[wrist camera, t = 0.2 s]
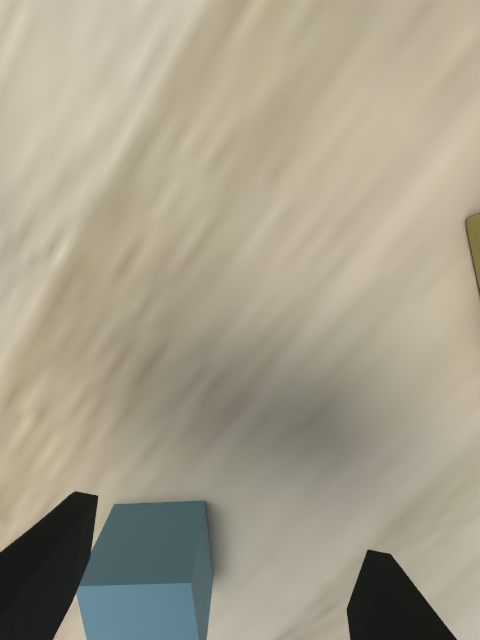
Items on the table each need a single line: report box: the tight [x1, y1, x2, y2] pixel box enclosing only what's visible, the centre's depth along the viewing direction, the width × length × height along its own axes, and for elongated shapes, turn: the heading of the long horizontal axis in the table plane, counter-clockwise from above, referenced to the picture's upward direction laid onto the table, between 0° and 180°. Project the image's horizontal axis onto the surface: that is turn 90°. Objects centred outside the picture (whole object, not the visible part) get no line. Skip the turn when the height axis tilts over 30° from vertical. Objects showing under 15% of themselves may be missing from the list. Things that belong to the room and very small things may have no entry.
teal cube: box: [76, 501, 214, 640], centre depth 20 cm, size 5×5×5 cm
